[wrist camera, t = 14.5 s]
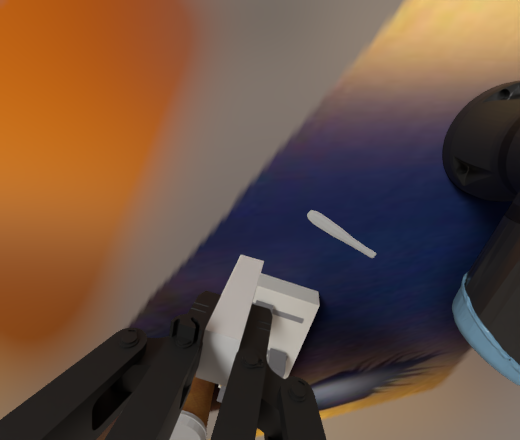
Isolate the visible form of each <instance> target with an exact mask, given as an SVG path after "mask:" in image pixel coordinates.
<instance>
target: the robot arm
mask: <svg viewBox="0 0 520 440" xmlns="http://www.w3.org/2000/svg"><path fill="white" fill-rule="evenodd" d="M443 163H444V167H445V170H446V173H447V175H448V176H449V178H450V179H451V181H452V182H453V183H454V184H455V185H456V186H457V187H458V188H460V189H461V190H463V191H464V192H466V193H469V194H471V195H473V196H476V197H478V198H481V199H485V200H490V201H513V202H512V204H511V205H510V207H509V209H508V210H507V212H506V213H505V215H504V216H503V218H502V219H501V221H500V223H499V224H498V226H497V228H496V229H495V231H494V232H493V234H492V236H491V237H490V239H489V240H488V242H487V243H486V245H485V247H484V248H483V250H482V251H481V253H480V254H479V256H478V258H477V259H476V261H475V262H474V264H473V265H472V267H471V269H470V270H469V272H467V273H466V274H465V275H464V277H463V279H462V282H461V283H462V285H461V287H460V289H459V291H458V292H457V294H456V296H455V298H454V300H453V304H452V311H453V314H454V320H455V323H456V325H457V327H458V329H459V330H460V332H461V334H462V335H463V336H464V338H465V339H466V341H467V342H468V343H469V344H470V345H471V347H472V348H473V349H474V350H475V351H476V352H477V353H478V354H479V355H480V356H481V357H482V358H483V359H484V360H485V361H486V362H487V363H488V364H490V365H491V366H492V367H493V368H494V369H496V370H497V371H498V372H499V373H501V374H502V375H503V376H505V377H506V378H507V379H509V380H510V381H512V382H513V383H515V384H517V385H520V81H515V82H510V83H505V84H502V85H499V86H496V87H494V88H491V89H489V90H487V91H485V92H484V93H482V94H480V95H479V96H477V97H476V98H474V99H473V100H472V101H471V102H469V103H468V104H467V105H466V106H465V107H464V108H463V109H462V110H461V111H460V113H459V114H458V115H457V116H456V118H455V119H454V121H453V122H452V124H451V126H450V128H449V130H448V132H447V134H446V137H445V141H444V145H443ZM263 263H264V261H261V260H258V259H254V258H251V257H247V256H244V255H240V257H239V259H238V261H237V263H236V266H235V268H234V270H233V272H232V274H231V276H230V278H229V280H228V282H227V284H226V287H225V289H224V291H223V293H222V295H219V294H216V293H212V292H209V291H205V292H203V293H201V294H200V295H199V296H198V297H197V299H196V301H195V303H194V304H193V306H192V307H191V309H190V310H189V312H188V314H183V315H179V316H177V317H175V318H174V319H173V320H172V321H171V326H170V333H169V336H167V337H164V338H147V336H146V333H145V332H144V331H143V330H141V329H138V328H126V329H122V330H120V331H119V332H117V333H115V334H114V335H113V336H112V337H110V338H109V339H107V340H106V341H105V342H103V343H102V344H101V345H99V346H98V347H97V348H95V349H94V350H93V351H92V352H90V353H89V354H88V355H86V356H85V357H84V358H82V359H81V360H80V361H78V362H77V363H76V364H74V365H73V366H71V367H70V368H69V369H68V370H66V371H65V372H63V373H62V374H61V375H59V376H58V377H57V378H55V379H54V380H53V381H51V382H50V383H49V384H48V385H46V386H45V387H43V388H42V389H41V390H40V391H38V392H37V393H36V394H34V395H33V396H32V397H30V398H29V399H28V400H26V401H25V402H24V403H22V404H21V405H20V406H18V407H17V408H16V409H14V410H13V411H12V412H10V413H9V414H7V415H6V416H5V417H3V418H2V419H1V420H0V440H96V439H97V438H98V437H99V436H100V434H101V433H102V432H103V431H104V430H105V429H106V428H107V427H108V426H109V425H110V424H111V423H112V422H113V420H114V419H115V418H116V417H117V416H118V415H119V414H120V413H121V414H120V416H119V417H118V419H117V420H116V422H115V424H114V425H113V427H112V428H111V430H110V432H109V433H108V435H107V436H106V438H105V440H170V437H171V435H172V432H173V430H174V428H175V425H176V423H177V421H178V418H179V416H180V413H181V411H182V409H183V406H184V404H185V402H186V399H187V397H188V394H189V392H190V390H191V385H192V381H193V378H194V376H195V374H196V376H195V377H197V378H200V379H203V380H206V381H209V382H213V383H216V384H219V385H222V386H225V387H226V389H225V393H224V396H223V399H222V403H221V406H220V410H219V413H218V416H217V420H216V424H215V426H214V430H213V433H212V437H211V440H255V436H256V430H257V428H258V429H260V430H261V431H262V432H264V438H265V440H326V436H325V433H324V429H323V425H322V421H321V418H320V414H319V410H318V407H317V403H316V399H315V395H314V393H313V390H312V388H311V387H310V385H309V384H308V383H307V382H306V381H304V380H303V379H301V378H298V377H295V376H293V377H287V378H286V379H284V378H282V377H281V376H279V375H277V374H276V373H275V372H274V371H273V370H272V369H271V368H270V366H269V364H268V362H267V350H268V344H269V337H270V331H271V325H272V319H273V316H272V313H271V310H270V309H268V308H265V307H262V306H258V305H255V304H252V302H253V299H254V295H255V292H256V288H257V284H258V281H259V277H260V274H261V270H262V266H263Z"/></svg>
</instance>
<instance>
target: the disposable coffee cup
mask: <svg viewBox="0 0 520 440" xmlns="http://www.w3.org/2000/svg"><path fill="white" fill-rule="evenodd" d="M195 376H196V374H195ZM195 376H194V378H193V381H192V385H191V390H190V392H189V394H188V397H187V399H186V402H185V404H184V406H183V409H182V411H181V413H180V416H179V418H178V421H177V423H176V425H175V428H174V430H173V432H172V435H171V437H170V440H206V436H207V433H206V427H207V421H208V417H209V412H210V407H211V402H212V397H213V391H214V386H215V383H213V382H209V381H206V380H203V379H200V378H197V377H195Z"/></svg>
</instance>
